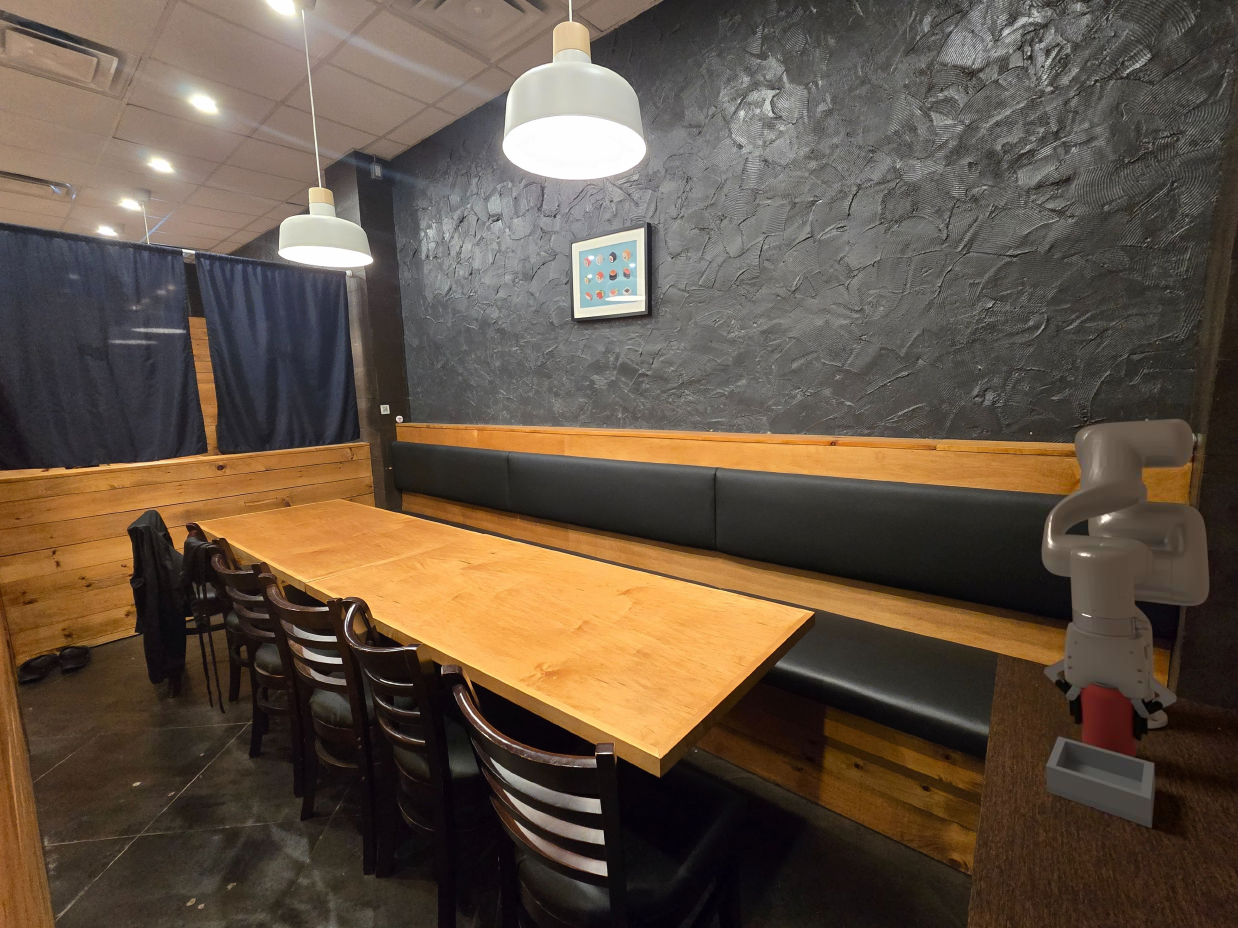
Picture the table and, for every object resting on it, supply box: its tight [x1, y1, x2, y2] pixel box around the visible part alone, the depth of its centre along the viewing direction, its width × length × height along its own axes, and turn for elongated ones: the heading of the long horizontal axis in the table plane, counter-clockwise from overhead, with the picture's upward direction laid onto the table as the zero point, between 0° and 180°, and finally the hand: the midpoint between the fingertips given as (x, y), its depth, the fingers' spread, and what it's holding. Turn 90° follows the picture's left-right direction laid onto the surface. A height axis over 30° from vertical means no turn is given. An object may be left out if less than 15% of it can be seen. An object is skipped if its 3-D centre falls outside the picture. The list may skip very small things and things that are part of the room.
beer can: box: [1080, 682, 1138, 758], centre depth 86 cm, size 7×7×12 cm
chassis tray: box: [1045, 735, 1156, 829], centre depth 78 cm, size 11×11×4 cm
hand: (1107, 727), depth 86 cm, fingers closed on beer can, 6 cm apart
